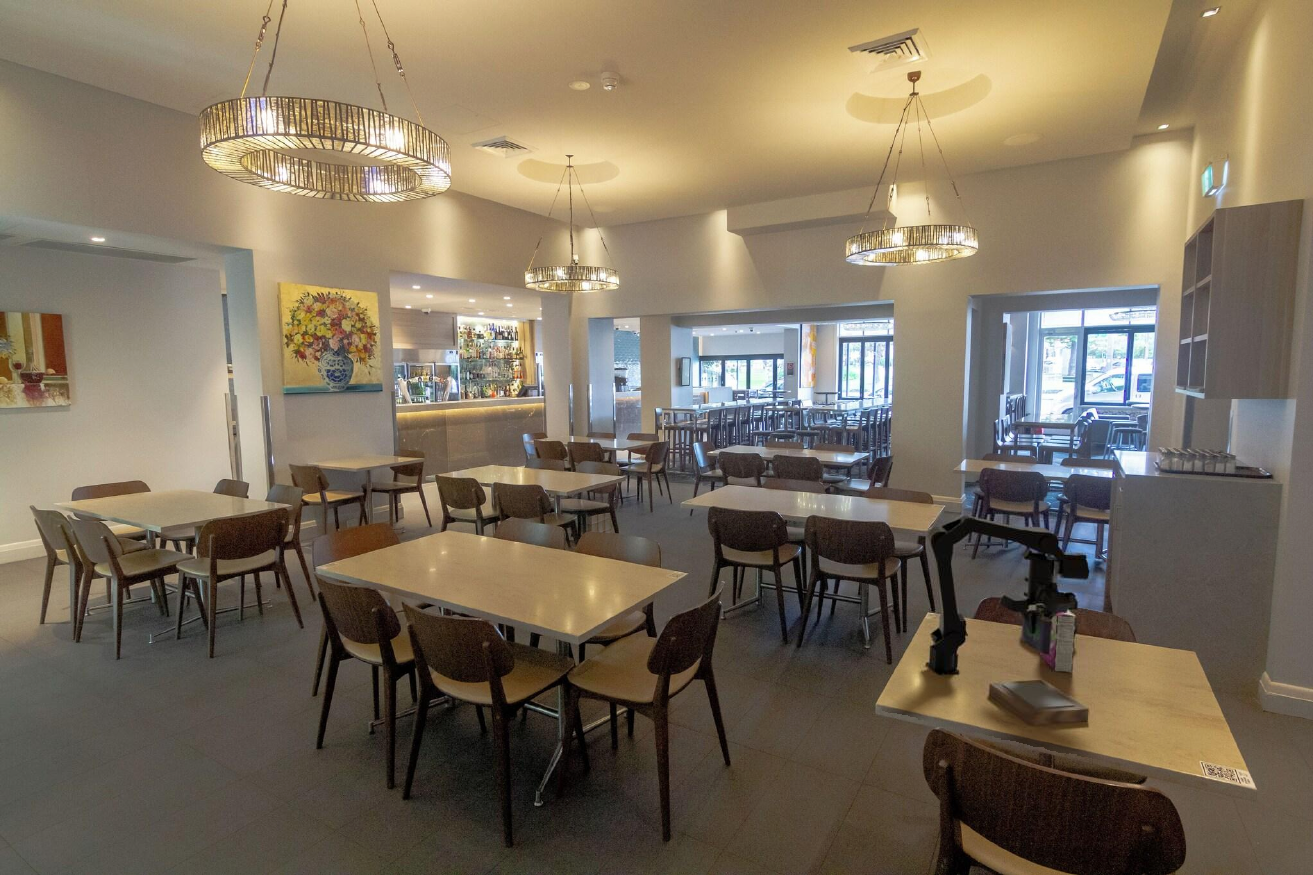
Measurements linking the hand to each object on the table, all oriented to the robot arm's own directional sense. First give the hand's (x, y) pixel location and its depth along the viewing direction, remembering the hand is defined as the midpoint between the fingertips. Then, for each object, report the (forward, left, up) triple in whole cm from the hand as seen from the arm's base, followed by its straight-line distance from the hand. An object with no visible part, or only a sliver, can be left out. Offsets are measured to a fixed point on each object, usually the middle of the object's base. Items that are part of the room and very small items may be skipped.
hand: (1036, 633), depth 174 cm
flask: (0, 0, -4) cm, 4 cm away
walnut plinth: (-10, -14, -13) cm, 21 cm away
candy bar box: (+13, +8, -13) cm, 20 cm away
